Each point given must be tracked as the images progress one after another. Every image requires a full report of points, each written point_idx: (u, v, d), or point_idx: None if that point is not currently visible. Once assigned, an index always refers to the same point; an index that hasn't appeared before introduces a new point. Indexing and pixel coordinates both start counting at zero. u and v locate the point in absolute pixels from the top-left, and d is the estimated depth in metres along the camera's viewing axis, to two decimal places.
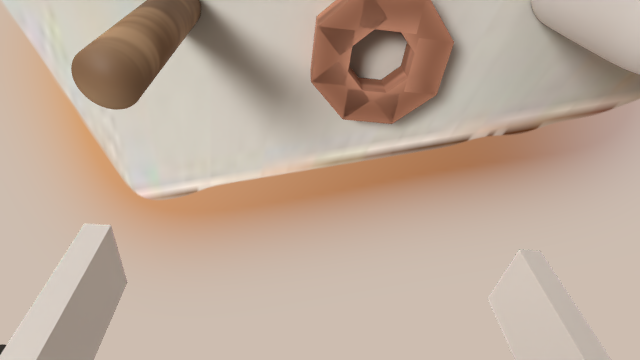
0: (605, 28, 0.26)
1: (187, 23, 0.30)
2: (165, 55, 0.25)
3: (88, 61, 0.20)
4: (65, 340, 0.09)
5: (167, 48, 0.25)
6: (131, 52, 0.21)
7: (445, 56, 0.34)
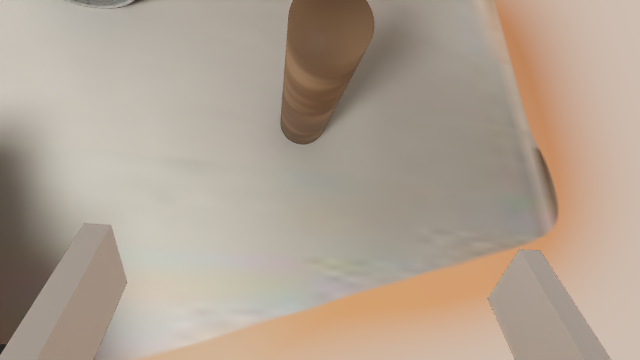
0: None
1: None
2: None
3: (308, 36, 0.16)
4: (65, 340, 0.09)
5: None
6: None
7: None
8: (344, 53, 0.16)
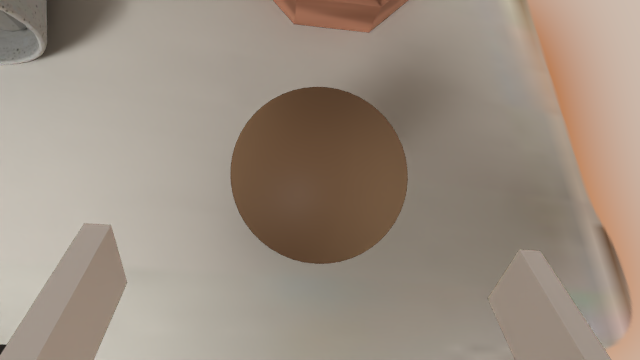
0: None
1: None
2: None
3: (272, 208, 0.08)
4: (65, 340, 0.09)
5: None
6: None
7: None
8: (349, 240, 0.08)
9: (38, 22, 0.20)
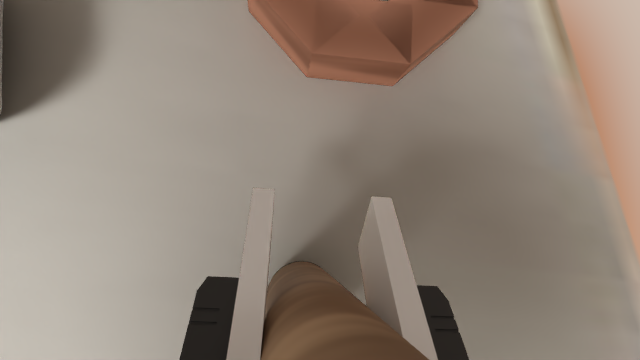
0: None
1: (309, 272, 0.15)
2: (344, 302, 0.09)
3: None
4: (267, 275, 0.11)
5: (331, 297, 0.10)
6: None
7: None
8: None
9: None
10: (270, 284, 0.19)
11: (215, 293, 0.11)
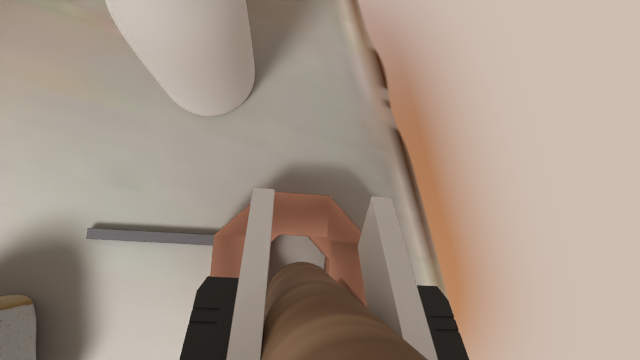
0: (196, 62, 0.22)
1: (309, 273, 0.15)
2: (344, 303, 0.09)
3: None
4: (267, 275, 0.11)
5: (330, 298, 0.10)
6: None
7: (281, 196, 0.30)
8: None
9: None
10: (270, 285, 0.19)
11: (215, 293, 0.11)
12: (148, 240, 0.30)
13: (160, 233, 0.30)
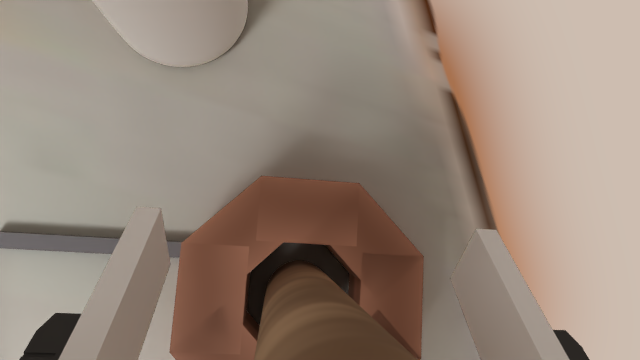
0: None
1: (304, 269, 0.17)
2: (330, 294, 0.11)
3: None
4: (129, 310, 0.10)
5: (319, 290, 0.11)
6: None
7: (287, 184, 0.19)
8: None
9: None
10: (269, 281, 0.20)
11: (57, 334, 0.09)
12: (84, 250, 0.20)
13: (103, 239, 0.20)
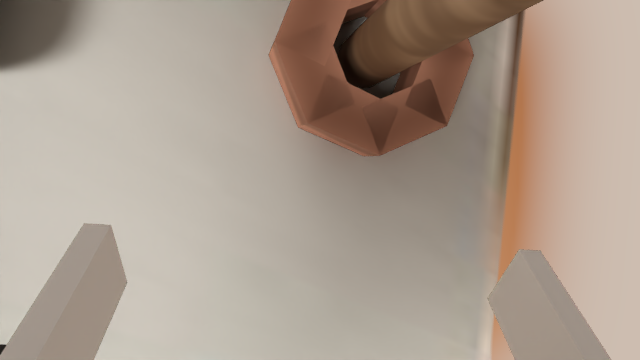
0: None
1: None
2: None
3: None
4: (65, 340, 0.09)
5: None
6: None
7: None
8: None
9: None
10: None
11: None
12: None
13: None
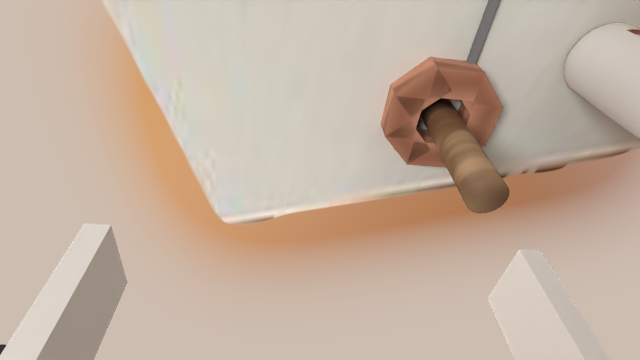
0: (628, 111, 0.34)
1: None
2: None
3: (482, 188, 0.32)
4: (65, 340, 0.09)
5: None
6: None
7: (495, 117, 0.43)
8: (469, 202, 0.33)
9: None
10: (449, 102, 0.43)
11: None
12: (489, 10, 0.38)
13: (491, 20, 0.38)
